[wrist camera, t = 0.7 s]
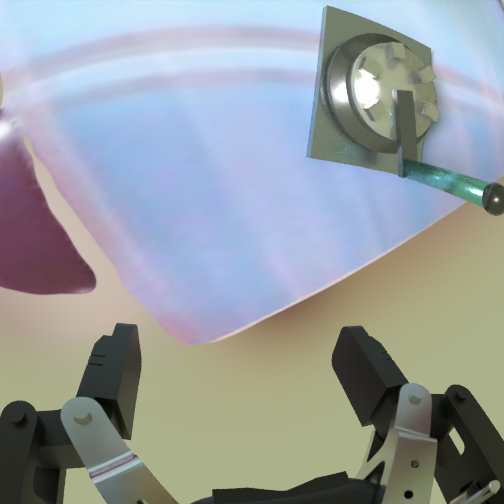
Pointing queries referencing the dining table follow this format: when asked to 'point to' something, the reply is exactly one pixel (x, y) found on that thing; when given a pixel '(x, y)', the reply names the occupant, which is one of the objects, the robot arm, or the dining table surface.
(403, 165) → the crank handle wheel
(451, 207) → the dining table surface
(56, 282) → the dining table surface
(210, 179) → the dining table surface
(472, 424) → the robot arm
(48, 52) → the dining table surface
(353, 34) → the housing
